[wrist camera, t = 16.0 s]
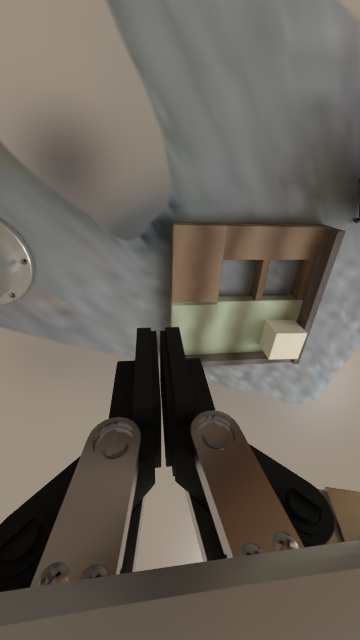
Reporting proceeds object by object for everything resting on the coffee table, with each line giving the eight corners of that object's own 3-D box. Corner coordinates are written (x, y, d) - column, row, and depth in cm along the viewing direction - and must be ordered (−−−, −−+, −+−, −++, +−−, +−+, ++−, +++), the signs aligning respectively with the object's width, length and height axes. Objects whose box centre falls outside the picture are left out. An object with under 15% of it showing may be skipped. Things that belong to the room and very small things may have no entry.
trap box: (169, 353, 44) (172, 370, 41) (172, 222, 33) (175, 228, 30) (286, 347, 47) (298, 363, 43) (324, 225, 36) (345, 231, 32)
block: (258, 344, 43) (268, 359, 40) (265, 320, 41) (276, 333, 37) (285, 344, 44) (297, 358, 41) (294, 320, 41) (307, 333, 38)
